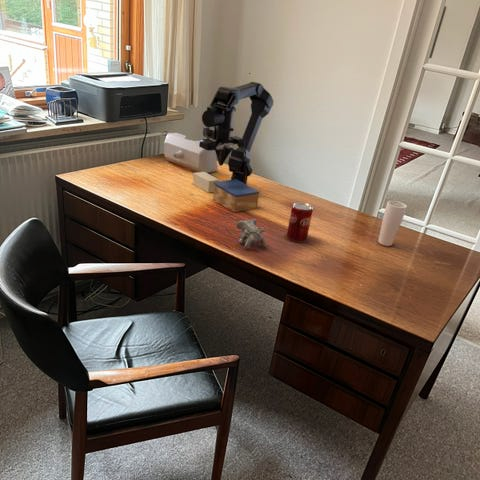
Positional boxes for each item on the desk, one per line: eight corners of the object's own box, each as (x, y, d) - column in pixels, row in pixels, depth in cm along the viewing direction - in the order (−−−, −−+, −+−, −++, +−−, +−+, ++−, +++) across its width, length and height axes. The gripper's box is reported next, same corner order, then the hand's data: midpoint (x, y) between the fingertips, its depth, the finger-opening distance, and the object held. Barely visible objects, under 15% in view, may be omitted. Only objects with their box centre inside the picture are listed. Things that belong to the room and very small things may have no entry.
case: (192, 184, 203) (193, 172, 200) (203, 182, 206) (204, 171, 204) (208, 192, 197) (209, 181, 194) (218, 191, 200) (219, 179, 197)
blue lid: (213, 184, 187) (213, 182, 187) (236, 180, 194) (236, 178, 193) (235, 197, 179) (236, 195, 178) (259, 193, 185) (259, 191, 185)
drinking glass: (384, 248, 170) (396, 208, 161) (371, 240, 175) (383, 201, 166) (398, 246, 173) (411, 207, 164) (385, 238, 177) (397, 199, 169)
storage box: (213, 200, 190) (214, 185, 187) (235, 196, 197) (237, 182, 194) (234, 212, 182) (236, 197, 179) (257, 207, 189) (259, 193, 185)
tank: (155, 162, 222) (155, 134, 215) (179, 157, 233) (180, 130, 226) (195, 177, 210) (196, 148, 203) (218, 171, 221) (220, 144, 214)
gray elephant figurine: (251, 253, 154) (254, 231, 150) (224, 240, 160) (226, 218, 156) (268, 245, 161) (272, 224, 156) (242, 233, 167) (245, 212, 162)
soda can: (308, 237, 170) (315, 205, 164) (304, 244, 165) (310, 211, 158) (289, 232, 172) (295, 200, 165) (284, 239, 166) (289, 206, 160)
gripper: (229, 117, 191) (225, 157, 200) (191, 120, 180) (189, 161, 189) (247, 124, 184) (243, 165, 193) (209, 127, 173) (206, 170, 182)
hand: (220, 165), depth 190 cm, fingers closed
